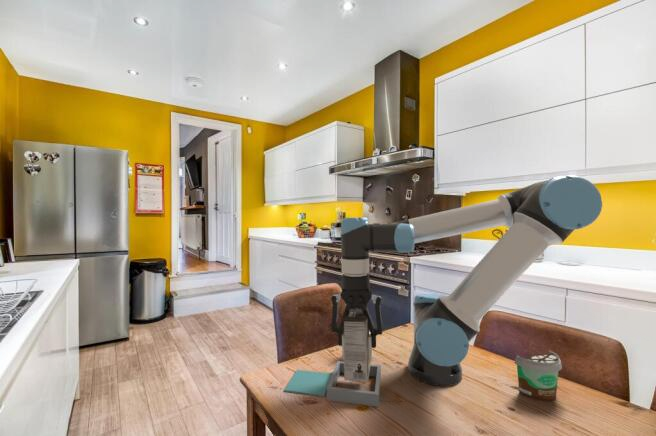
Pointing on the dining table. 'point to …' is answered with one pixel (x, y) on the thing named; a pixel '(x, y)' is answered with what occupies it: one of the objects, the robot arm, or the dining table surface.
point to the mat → (309, 382)
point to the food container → (538, 376)
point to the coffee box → (356, 346)
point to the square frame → (352, 394)
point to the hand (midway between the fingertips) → (357, 358)
